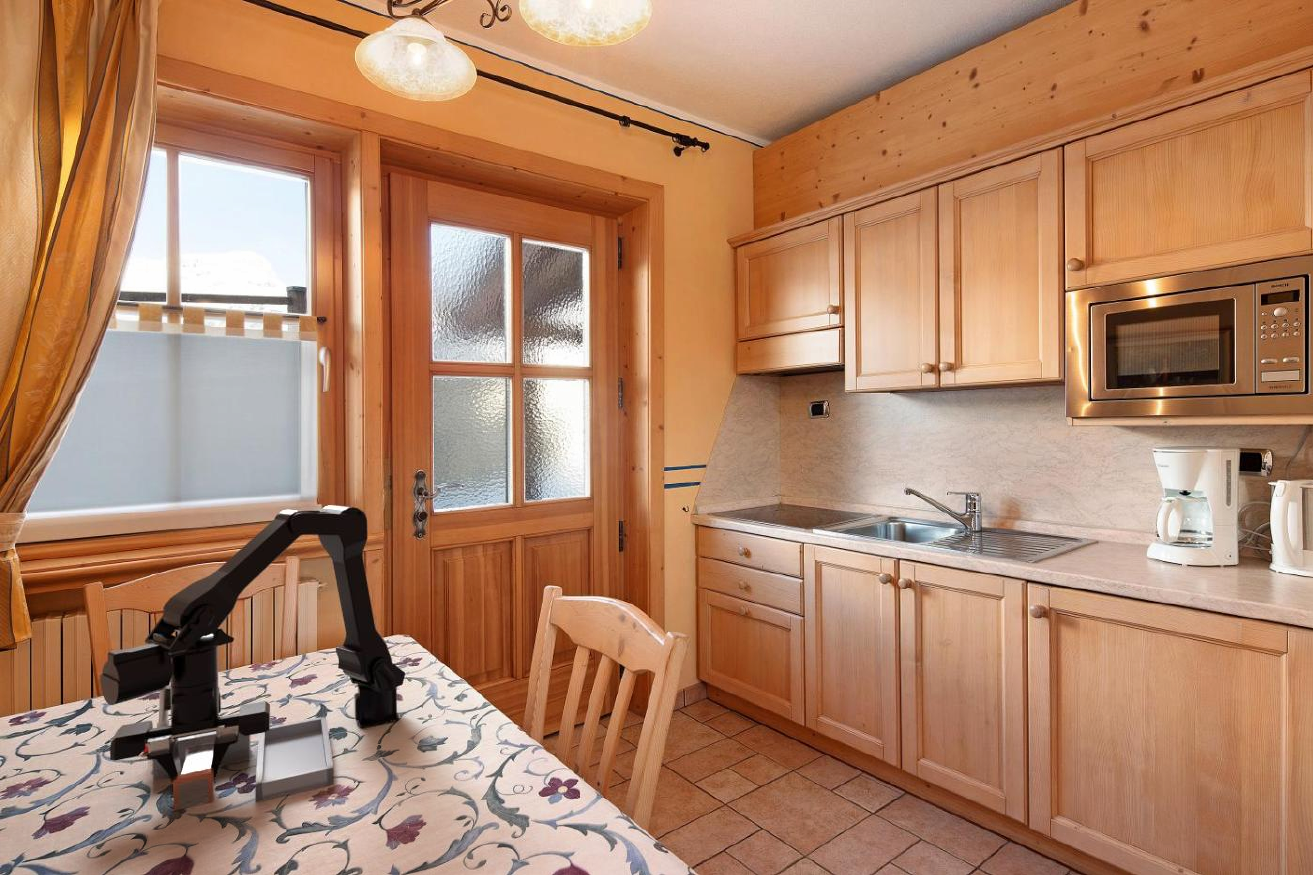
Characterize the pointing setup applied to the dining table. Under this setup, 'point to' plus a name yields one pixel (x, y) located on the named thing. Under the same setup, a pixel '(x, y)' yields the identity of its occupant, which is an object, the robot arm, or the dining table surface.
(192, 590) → the robot arm
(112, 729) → the dining table surface
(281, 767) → the tray
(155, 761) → the block
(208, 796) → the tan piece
